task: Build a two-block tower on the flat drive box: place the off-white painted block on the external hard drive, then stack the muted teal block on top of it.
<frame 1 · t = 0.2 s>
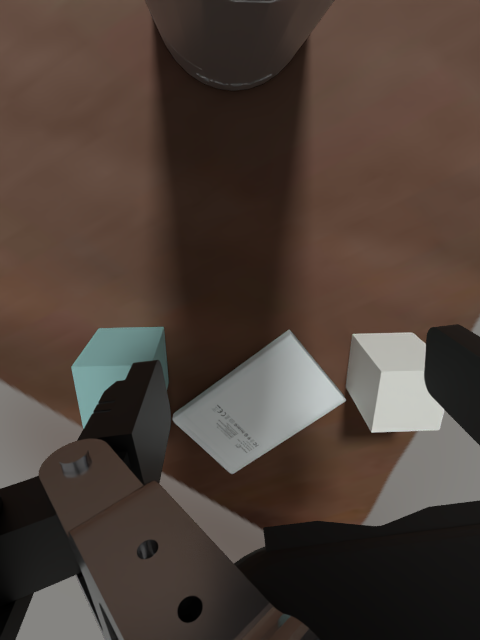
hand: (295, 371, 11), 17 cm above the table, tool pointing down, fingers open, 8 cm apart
external hard drive: (257, 399, 33), on the table
white block: (378, 360, 32), on the table
teal block: (135, 355, 30), on the table
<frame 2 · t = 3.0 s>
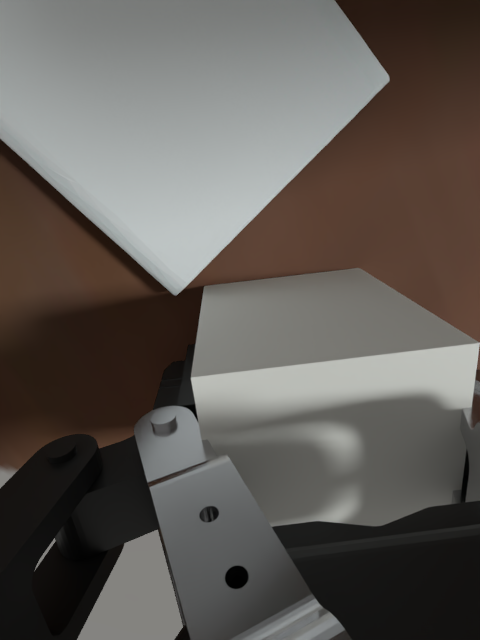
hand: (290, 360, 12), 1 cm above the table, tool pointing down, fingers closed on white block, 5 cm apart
external hard drive: (112, 22, 10), on the table
white block: (286, 347, 13), on the table, touching gripper
when the fingers open (4 cm above the table, at t = 8.2 s): white block drops 2 cm, resting on external hard drive.
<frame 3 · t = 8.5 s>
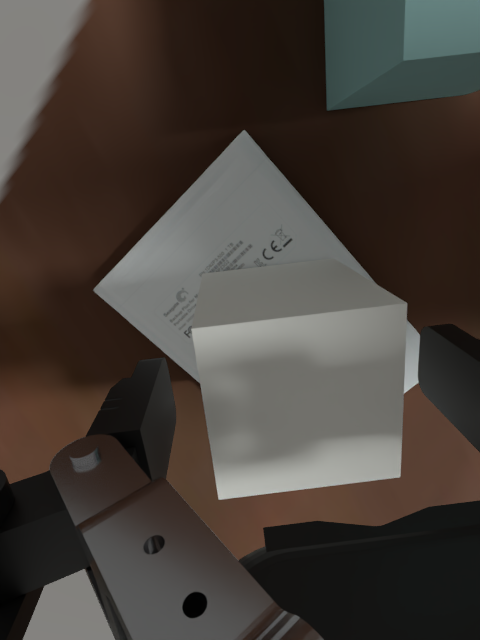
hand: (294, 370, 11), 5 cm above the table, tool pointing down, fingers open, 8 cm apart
external hard drive: (272, 314, 17), on the table, touching white block
white block: (273, 327, 15), point 1 cm above the table, touching external hard drive
teal block: (398, 18, 13), on the table
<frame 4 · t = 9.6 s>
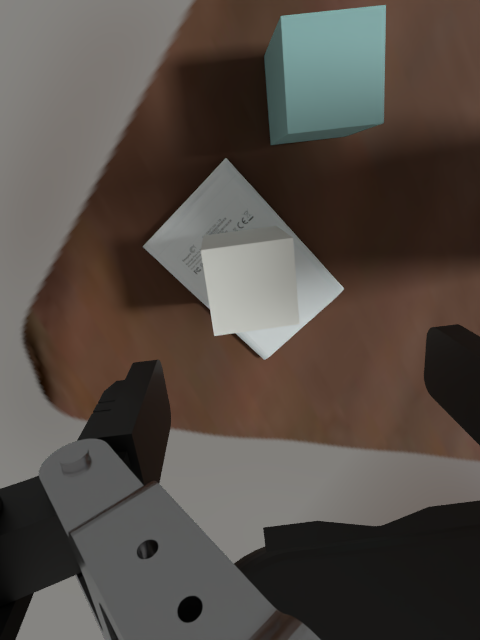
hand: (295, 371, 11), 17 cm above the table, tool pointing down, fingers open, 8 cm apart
external hard drive: (245, 263, 29), on the table, touching white block
white block: (244, 266, 27), point 1 cm above the table, touching external hard drive
teal block: (306, 98, 24), on the table
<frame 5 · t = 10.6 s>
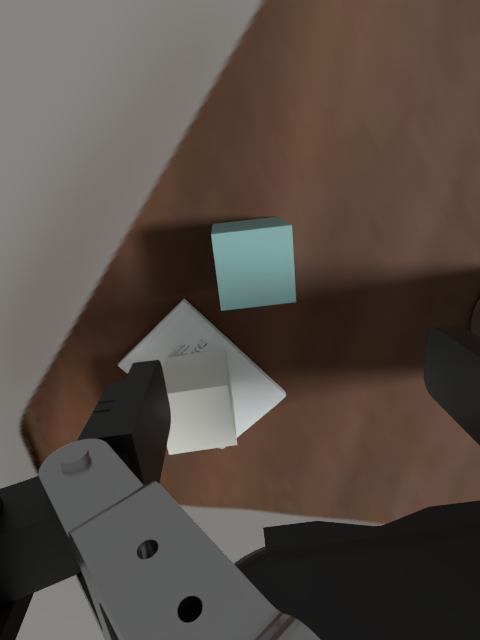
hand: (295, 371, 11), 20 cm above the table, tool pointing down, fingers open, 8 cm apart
external hard drive: (204, 372, 34), on the table, touching white block
white block: (200, 379, 32), point 1 cm above the table, touching external hard drive
teal block: (248, 252, 30), on the table
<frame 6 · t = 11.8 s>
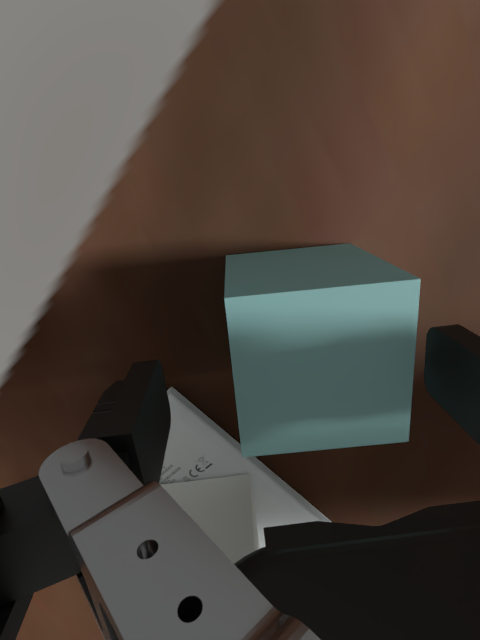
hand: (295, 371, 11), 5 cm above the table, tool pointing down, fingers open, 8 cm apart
external hard drive: (207, 495, 21), on the table
white block: (205, 520, 19), point 1 cm above the table
teal block: (290, 307, 16), on the table
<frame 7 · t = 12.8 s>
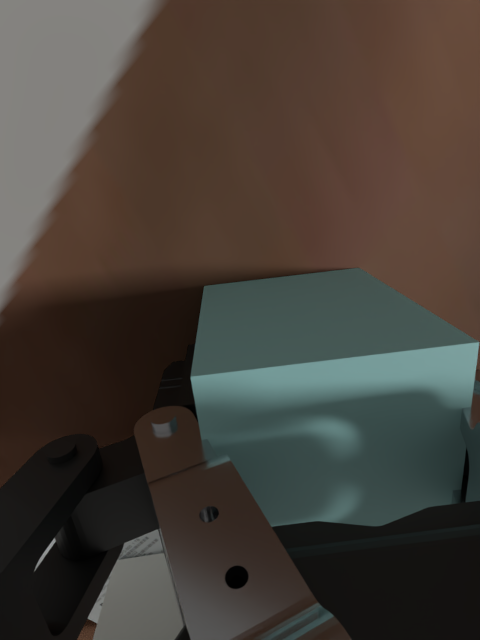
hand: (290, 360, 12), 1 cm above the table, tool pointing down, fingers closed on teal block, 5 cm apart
external hard drive: (193, 559, 18), on the table
white block: (189, 594, 16), point 1 cm above the table
teal block: (286, 347, 13), on the table, touching gripper
when the fingers open (10 cm above the table, at t = 18.4 s): teal block drops 2 cm, resting on white block.
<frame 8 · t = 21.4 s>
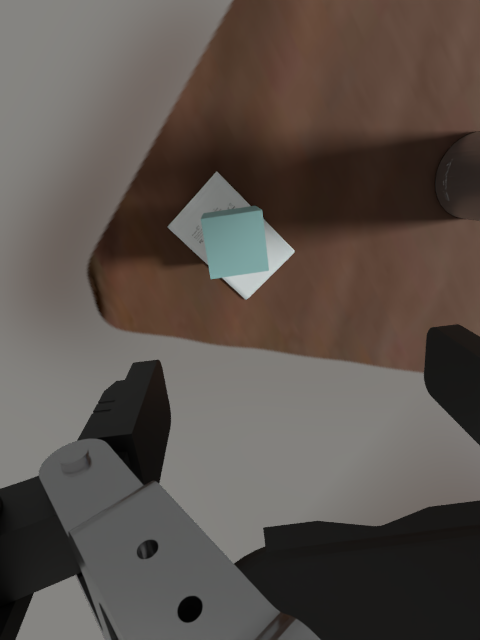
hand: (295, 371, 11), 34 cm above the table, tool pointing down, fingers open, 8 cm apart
external hard drive: (231, 237, 45), on the table, touching white block
teal block: (233, 235, 37), point 7 cm above the table, touching white block
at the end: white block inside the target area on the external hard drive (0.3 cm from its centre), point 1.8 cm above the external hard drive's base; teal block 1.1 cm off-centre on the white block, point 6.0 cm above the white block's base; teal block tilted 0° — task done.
